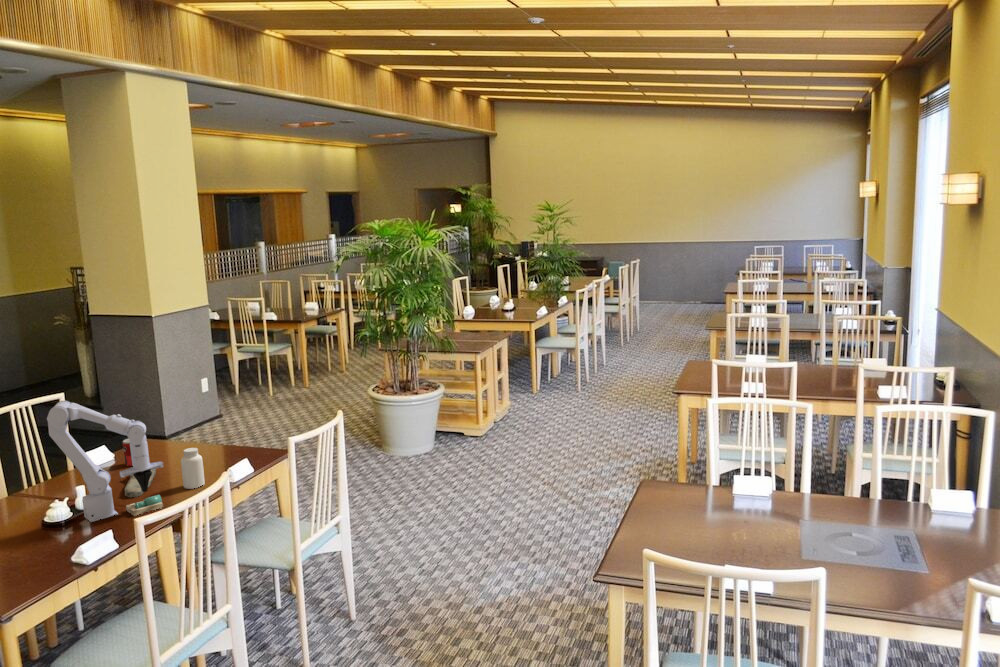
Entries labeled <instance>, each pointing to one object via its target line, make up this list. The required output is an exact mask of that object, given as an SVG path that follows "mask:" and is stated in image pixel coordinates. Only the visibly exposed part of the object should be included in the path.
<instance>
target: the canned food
mask: <svg viewBox="0 0 1000 667" xmlns="http://www.w3.org/2000/svg"><path fill="white" fill-rule="evenodd" d="M122 447H123V455H124V463H125V466H126V465H128V466H127V467H129V466H133V465H132V457H131V450H130V439H129V438H125V439H123V440H122Z"/></svg>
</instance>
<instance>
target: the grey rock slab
mask: <svg viewBox="0 0 1000 667" xmlns="http://www.w3.org/2000/svg"><path fill="white" fill-rule="evenodd" d="M150 471H151V472H152V475H151V477H150V479H149V483H148V488H149V487H150V486H151V484H152V483H153V479H154V478H155V476H156V473H157V472H156V471H157V468H156V469H152V470H150ZM123 489H124V497H127V498H132V497H134V498H138V496H139V497H141V496H142V495H143V494H144V493H145V492H143V491H142V490H141V487H140V485H139V483H138V481H137V479H136V478H135V477H134V475H133V474H132V475H129V480H128V481H127V483H126V485H125V487H124V488H123Z"/></svg>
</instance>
